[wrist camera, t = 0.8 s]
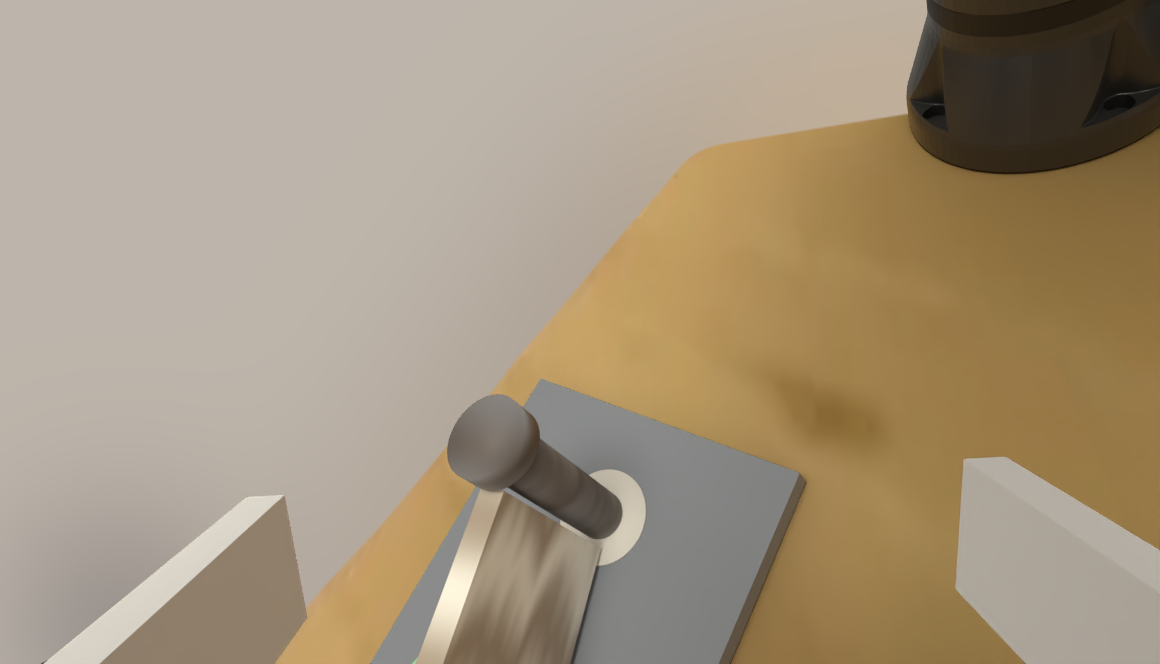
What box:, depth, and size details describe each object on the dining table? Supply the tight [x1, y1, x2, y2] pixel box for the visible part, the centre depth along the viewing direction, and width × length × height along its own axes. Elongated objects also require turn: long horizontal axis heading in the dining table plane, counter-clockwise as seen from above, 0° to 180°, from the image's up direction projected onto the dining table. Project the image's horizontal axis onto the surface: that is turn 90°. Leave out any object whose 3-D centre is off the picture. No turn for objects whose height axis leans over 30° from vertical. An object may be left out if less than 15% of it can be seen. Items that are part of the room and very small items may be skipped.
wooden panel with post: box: [416, 394, 622, 664], centre depth 30 cm, size 17×4×12 cm, turn 161°
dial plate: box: [370, 379, 806, 664], centre depth 36 cm, size 26×21×2 cm
